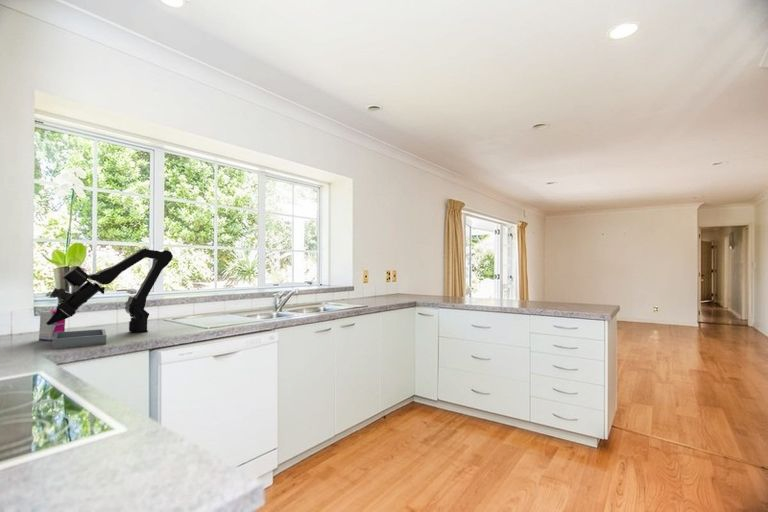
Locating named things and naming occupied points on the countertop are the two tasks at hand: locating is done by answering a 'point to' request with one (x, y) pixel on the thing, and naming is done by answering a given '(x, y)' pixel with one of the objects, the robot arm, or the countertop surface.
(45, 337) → the supplement box
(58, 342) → the tray
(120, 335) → the countertop surface
